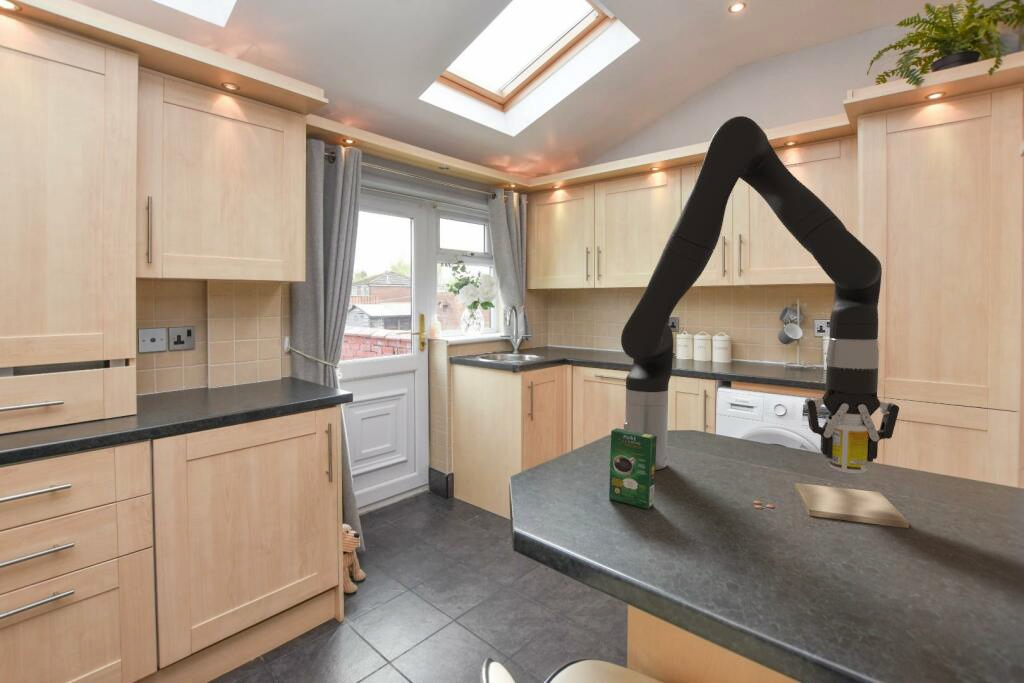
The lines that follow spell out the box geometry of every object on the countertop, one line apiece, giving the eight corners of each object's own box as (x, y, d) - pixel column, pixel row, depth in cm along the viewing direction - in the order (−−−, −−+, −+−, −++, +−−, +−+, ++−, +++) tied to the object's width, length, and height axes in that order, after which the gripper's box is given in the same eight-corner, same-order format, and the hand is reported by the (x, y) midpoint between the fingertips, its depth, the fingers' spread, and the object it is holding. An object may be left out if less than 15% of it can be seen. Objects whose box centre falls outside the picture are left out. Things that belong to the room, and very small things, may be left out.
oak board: (809, 515, 85) (809, 509, 85) (794, 487, 98) (794, 482, 98) (908, 528, 80) (909, 522, 80) (879, 497, 93) (879, 492, 93)
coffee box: (656, 505, 89) (657, 433, 88) (650, 511, 87) (651, 436, 86) (615, 495, 94) (616, 427, 93) (608, 500, 92) (609, 430, 91)
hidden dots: (754, 508, 88) (754, 507, 88) (752, 500, 92) (752, 500, 91) (776, 510, 87) (776, 510, 87) (773, 503, 90) (773, 502, 90)
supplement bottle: (871, 469, 88) (873, 412, 88) (860, 476, 85) (863, 417, 84) (835, 462, 92) (837, 408, 92) (824, 468, 89) (826, 411, 88)
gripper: (809, 365, 86) (806, 460, 88) (910, 368, 81) (905, 469, 82) (801, 361, 93) (798, 449, 95) (893, 363, 88) (889, 457, 89)
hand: (848, 458), depth 88 cm, fingers closed on supplement bottle, 5 cm apart
